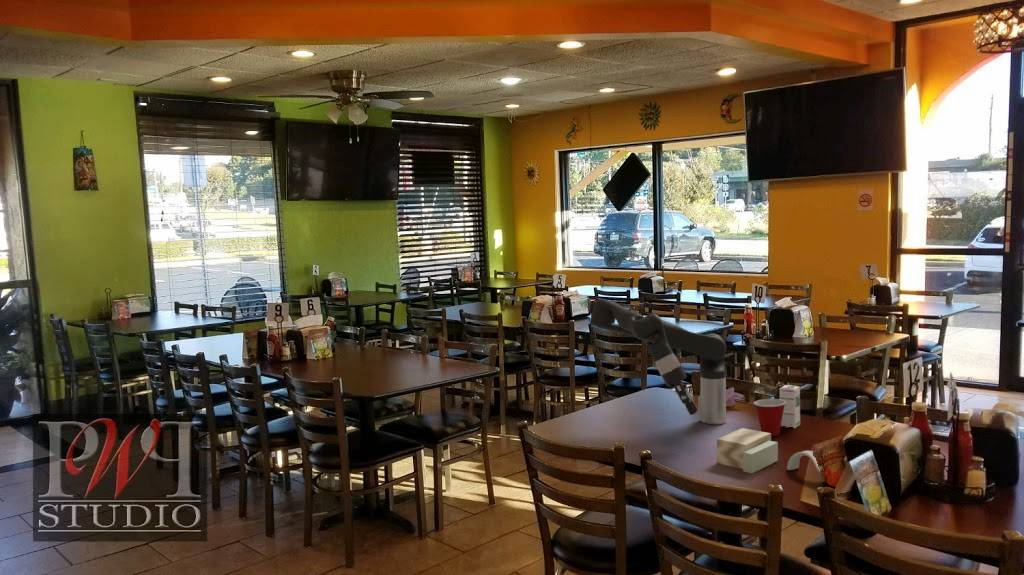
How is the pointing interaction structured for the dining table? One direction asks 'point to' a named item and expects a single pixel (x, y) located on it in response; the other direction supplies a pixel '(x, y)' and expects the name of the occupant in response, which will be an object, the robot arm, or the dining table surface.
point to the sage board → (760, 456)
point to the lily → (732, 396)
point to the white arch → (795, 459)
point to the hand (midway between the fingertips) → (694, 413)
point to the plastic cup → (770, 415)
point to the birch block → (738, 445)
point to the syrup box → (790, 405)
